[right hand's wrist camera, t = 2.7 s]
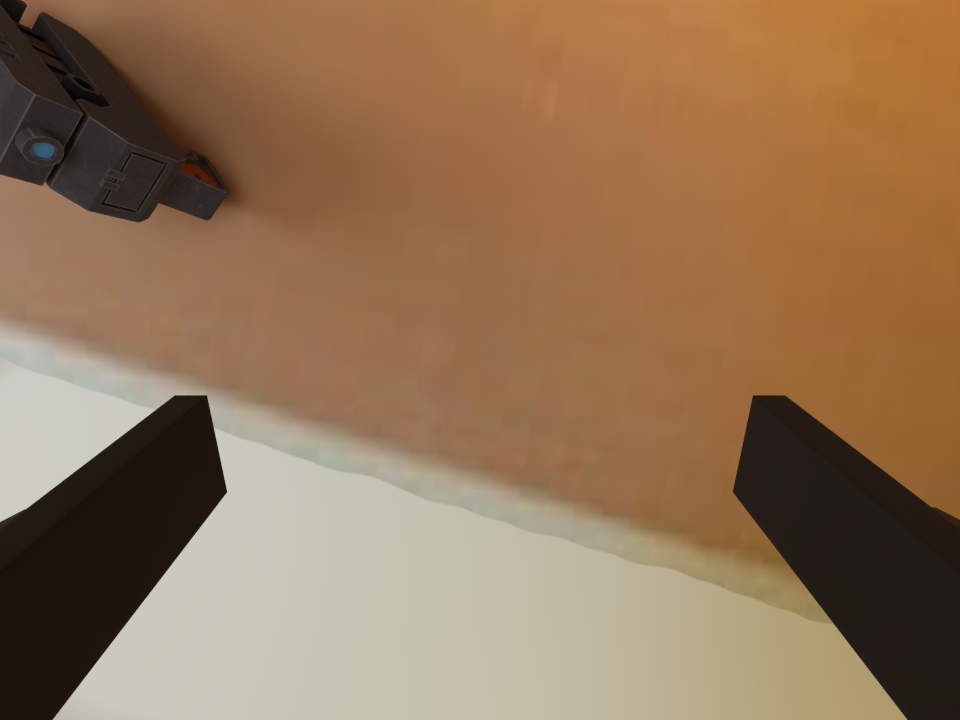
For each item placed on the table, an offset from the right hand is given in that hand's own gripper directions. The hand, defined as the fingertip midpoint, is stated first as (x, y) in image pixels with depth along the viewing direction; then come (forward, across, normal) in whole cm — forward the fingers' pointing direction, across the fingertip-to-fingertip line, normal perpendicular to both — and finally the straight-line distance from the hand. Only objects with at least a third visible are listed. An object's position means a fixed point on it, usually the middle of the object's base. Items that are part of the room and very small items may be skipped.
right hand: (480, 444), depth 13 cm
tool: (+34, -28, +10) cm, 46 cm away
